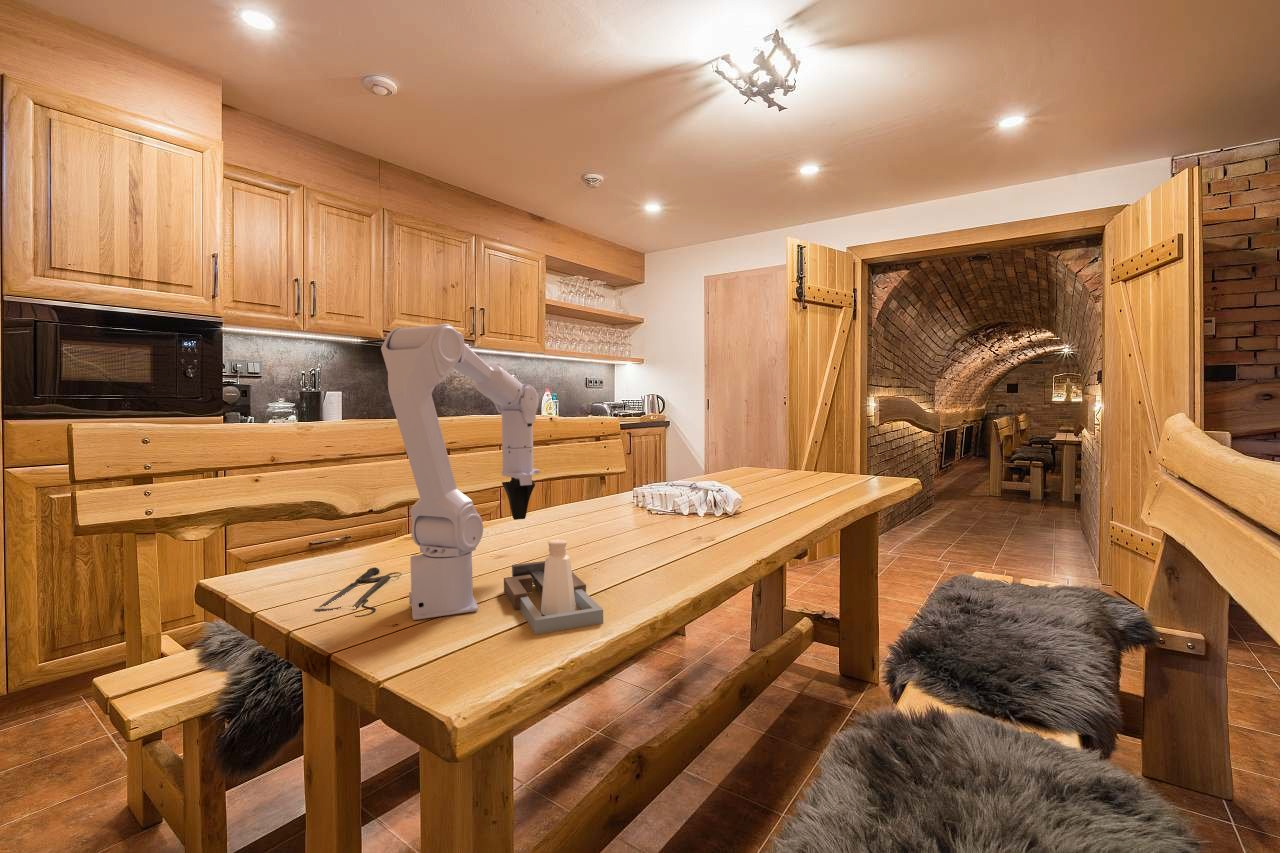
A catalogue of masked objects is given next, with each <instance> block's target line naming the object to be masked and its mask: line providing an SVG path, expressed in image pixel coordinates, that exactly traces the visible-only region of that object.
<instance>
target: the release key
mask: <svg viewBox="0 0 1280 853" xmlns="http://www.w3.org/2000/svg"><path fill="white" fill-rule="evenodd" d="M544 569H545V560H541V561H533V562H525V563H518V564H517V563H516V564H512V565H511V577H515V576H523V575H531V576H532V578H533V586H535V589H537V590H538V591H539V593H540V594H541V595H542V592H543V580H544Z"/></svg>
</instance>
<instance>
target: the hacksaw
mask: <svg viewBox="0 0 1280 853" xmlns="http://www.w3.org/2000/svg"><path fill="white" fill-rule="evenodd" d="M376 574H377V575H378V574H380V569H379V568H378V567H371V568H368V569H367V570H366V572H364V573H362V575H360V576H359V577H358V578H356V580H355V582H351V583H350V584H349V585H347V586H345V587H344V588H343V589H341V590H340V591H339V592H337V593H336V594H335V595H333V596H332V597H330V598H329V599H327V601H325V602H323V603H322V604H320V606H319V608H314V609H313V611H314V612H319V613H320V612H327V610H328V611H329V610H330V611H334V610H333V609H337V610H339V609H338V608H341V607H342V606H338V607H332V608H323V607H322V606H324V607H327V606H326V605H328V604H329V603H331V602H332V601H334V600H336V599H337V598H339V597H340V598H342V597H343V596H345V595H346V594H347V593H349V592H350V591H351V590H353V589H354V588H355V587H356V586H359V584H362V583H368V582H376V583H374V585H372V587H371V588H369V589H368V590H367V591H366V592H365V593H363V595H362V596H360V598H358V600H357V601H356V602H355V603H354V604H353V605H352V607H354V606H355V607H356V610H358V609H359V607H360V605H361V607H362V608H364V609H368V610H373V611H371V612H369V613H366V614H362V615H354V616H355V617H354V618H361V617H366V616H370V615H372V614H375V613H376V611H377V608H376V607H372V606H366V605H365V604H366V603H368V602H369V597H371V596H372V595H373V594H374V593H376V591H378V590H379V589H380V588H381V587H382V586H383V585H384V584H385V583H386V582H388V581H389V580H390V579H391V578H392V577H391V575H397V574H399V575H397V576H395V577H393V579H395V578H398V577H401V576H402V572H400V571H399V572H398V571H395V572H390V573H387V574H385V575H380V576H377V577H373V575H374V576H376ZM346 592H347V593H346ZM345 593H346V594H345ZM342 595H343V596H342ZM340 598H339V599H340ZM337 600H338V599H337ZM337 600H336V601H337ZM334 602H335V601H334ZM331 604H332V603H331ZM328 606H329V605H328ZM348 606H349V607H350V606H351V605H348ZM357 608H358V609H357ZM330 611H329V612H330Z"/></svg>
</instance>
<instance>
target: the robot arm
mask: <svg viewBox="0 0 1280 853" xmlns="http://www.w3.org/2000/svg"><path fill="white" fill-rule="evenodd" d="M380 350H381V354H382V357H383V360H384V363H385V367H386V371H387V388H388V389H387V390H388V393H389V398H390V401H391V405H392V407H393V412H394V414H395V417H396V422H397V424H398V428H399V431H400V434H401V437H402V438H401V439H402V441H403V444H404V445H403V446H404V449H405V451H406V455H407V458H408V461H409V465H410V469H411V472H412V475H413V480H414V482H415V485H416V488H417V492H418V495H419V499H418V500H416V501H415V503H414V504H413V506H412V507H411V508H410V509H409V514H410V519H411V530H410V531H411V537H412V540H413V542H414V543H415V544H416V545H417V546H418V547H419V552H420V554H416V555H411V556H410V560H409V561H410V592H409V593H408V599H409V601H408V603H409V605H411V614H412V617H411V618H412V620H414V621H417V620H423V619H424V620H425V619H431V618H437V617H442V616H443V617H445V616H450V615H451V616H452V615H458V614H464V613H470V612H471V613H473V612H477V611H478V610H479V605H478V603H477V601H476V599H475V596H474V593H473V588H474V586H473V585H474V584H473V583H474V582H473V552H474V551H476V550H477V549H476V548H477V547H478V545H479V544H480V542H481V540H482V537H483V534H484V523H483V519H482V517H481V515H480V514H479V512H477V510H476V508H475V505H474V502H473V500H472V499H471V498H469V497H468V496H467V494H465V493H463V492H462V491H460V490H459V489H458V487H457V485H456V481H455V478H454V473H453V469H452V465H451V462H450V458H449V454H448V451H447V447H446V444H445V439H444V436H443V432H442V429H441V425H440V420H439V418H438V413H437V410H436V409H437V408H436V407H435V402H434V399H433V395H432V393H433V391H434V389H435V388H436V386H438V385H440V384H441V383H442V382H443V381H444V380H445V378H446V377H447V376H448V375H449V373H450V372H451V371H453V369H454V370H456V371H457V372H459V373H461V374H462V375H464V376H466V377H467V378H469V379H470V380H472V381H474V387H475V389H476V390H477V392H479V393H480V394H482V395H483V396H485V397H486V398H487V399H489V400H491V401H492V403H494V404H493V405H494V407H495V409H496V411H497V412H498V413H499V414H501V441H502V442H501V444H502V448H501V450H502V451H501V453H502V470H501V476H502V477H506V478H511V479H510V480H509V481H503V482H501V485H502V487H503V488H504V491H505V493H506V495H507V499H508V504H509V508H510V511H511V516H512V519H513V520H515V521H517V520H525V519H526V516H527V512H528V507H529V502H530V498H531V495H532V493H533V491H534V489H535V487H536V482H535V481H534V480H533V476H534V475H537V474H541V470H540V469H539V468H534V428H533V427H534V425H533V424H534V423H535V422H536V420H537V419H536V417H537V416H536V414H537V410H538V408H539V403H540V398H539V396H538V392H537V390H536V388H535V387H534V386H532V385H531V384H529V383H521V382H520V381H519V380H518V379H517V378H516V377H515V376H512V374H510V373H509V372H508V371H506V369H504V366H503V365H502V364H501V363H489V364H488V363H487V362H485V361H484V360H483V359H482V358H481V357H480V356H478V355H477V354H476V353H475V351H473V350H472V349H471V348H470V347H469V346H468V345H467V344H466V343H465V338H464V335H463V333H461V332H460V331H458V330H456V328H455V327H453V325H451V324H448V323H442V324H441V323H439V324H437V325H427V326H426V325H425V326H415V327H403V326H401V327H395V328H393V329H391V330H390V331H389V333H388V334H387V336H386V337H385V339H384V342H383V344H382V345H381V348H380Z"/></svg>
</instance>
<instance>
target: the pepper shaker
mask: <svg viewBox="0 0 1280 853" xmlns="http://www.w3.org/2000/svg"><path fill="white" fill-rule="evenodd" d="M567 544H568V542H567V541H566V540H565V539H561V538H557V539H551V540H548V542H547V545H548V552H549V554H548V556H547V557H545V559H544V561H545V569H544V580H543V592H542V594H541V605H540V607H541V608H540V612H541V613H542V614H543V616H546V615H552V614H559V613H565V612H572V611H577V604H576V603H575V595H574V587H573V578H572V572H573V571H572V564H571V557H570V556H569V555H567Z"/></svg>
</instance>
